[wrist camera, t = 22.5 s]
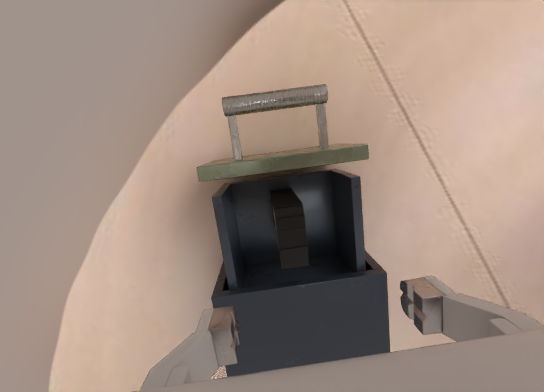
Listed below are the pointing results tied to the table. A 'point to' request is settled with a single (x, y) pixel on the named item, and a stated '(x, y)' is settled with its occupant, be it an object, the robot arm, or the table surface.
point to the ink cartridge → (289, 228)
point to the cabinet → (308, 319)
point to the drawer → (307, 186)
